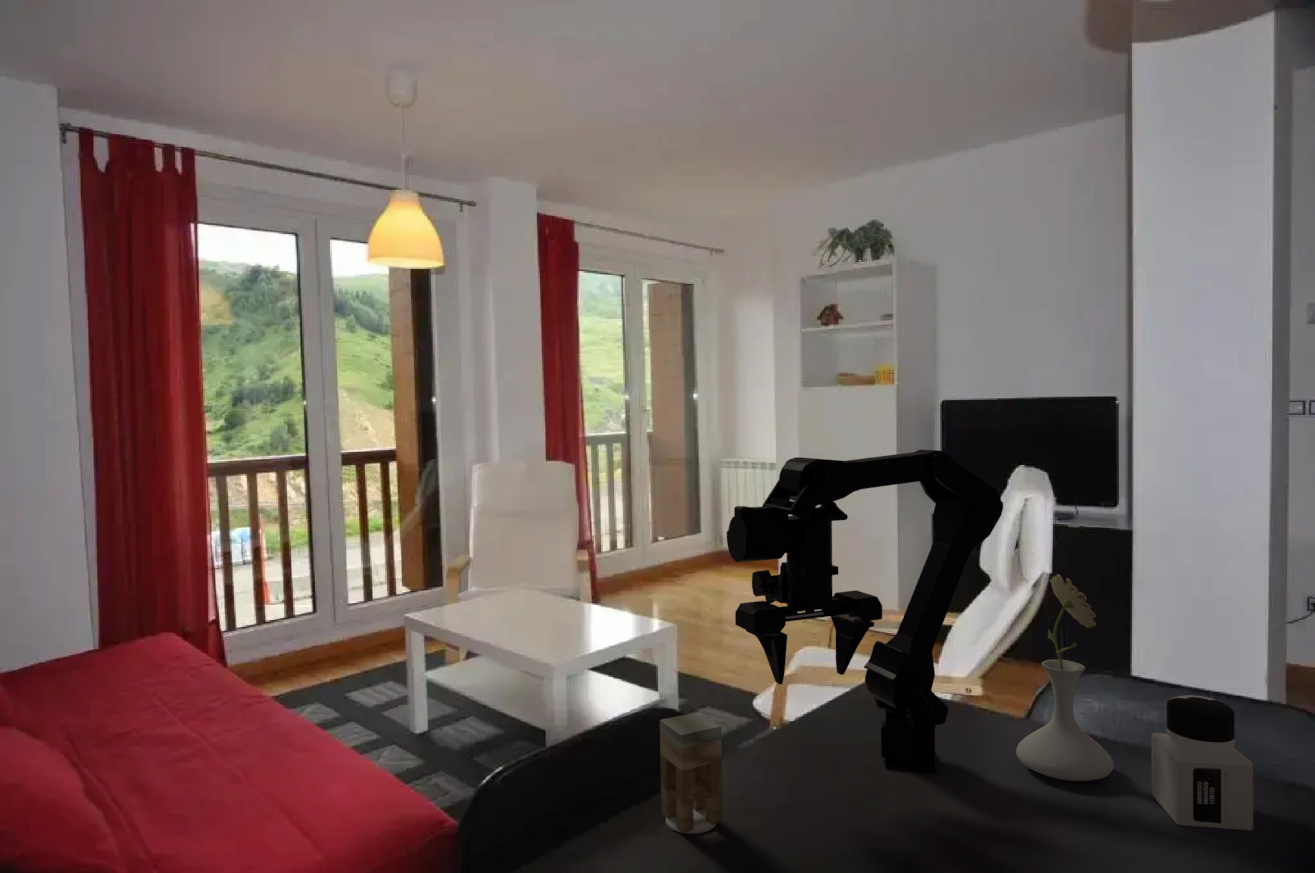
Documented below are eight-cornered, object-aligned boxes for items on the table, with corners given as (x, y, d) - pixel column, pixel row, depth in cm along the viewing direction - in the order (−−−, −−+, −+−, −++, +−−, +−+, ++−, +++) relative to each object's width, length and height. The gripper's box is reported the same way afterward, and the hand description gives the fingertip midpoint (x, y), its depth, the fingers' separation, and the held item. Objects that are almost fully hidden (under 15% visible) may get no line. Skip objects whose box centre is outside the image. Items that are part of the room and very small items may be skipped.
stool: (700, 802, 99) (698, 711, 99) (722, 821, 95) (721, 726, 94) (661, 813, 97) (659, 719, 97) (682, 832, 92) (681, 734, 92)
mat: (722, 812, 98) (722, 808, 98) (710, 836, 92) (710, 833, 92) (673, 805, 100) (673, 802, 100) (659, 829, 94) (659, 826, 94)
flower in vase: (1121, 796, 100) (1120, 590, 100) (1018, 783, 104) (1017, 584, 103) (1104, 754, 112) (1103, 570, 112) (1012, 744, 116) (1011, 566, 116)
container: (1254, 832, 91) (1254, 714, 91) (1176, 826, 93) (1176, 710, 92) (1221, 799, 99) (1221, 691, 98) (1150, 794, 100) (1150, 688, 100)
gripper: (833, 542, 116) (834, 653, 117) (714, 552, 109) (716, 670, 110) (884, 554, 106) (885, 675, 107) (756, 566, 99) (758, 696, 99)
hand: (810, 678), depth 106 cm, fingers open, 9 cm apart
